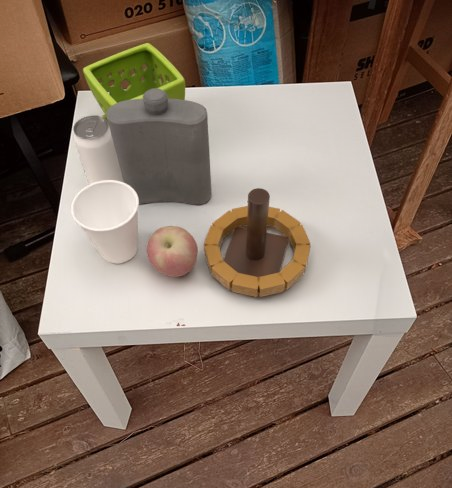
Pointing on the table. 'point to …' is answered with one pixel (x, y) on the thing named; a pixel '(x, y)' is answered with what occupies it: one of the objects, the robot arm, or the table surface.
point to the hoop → (252, 283)
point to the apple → (172, 251)
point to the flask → (162, 147)
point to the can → (96, 149)
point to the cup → (109, 218)
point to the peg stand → (256, 241)
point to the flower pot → (133, 76)
